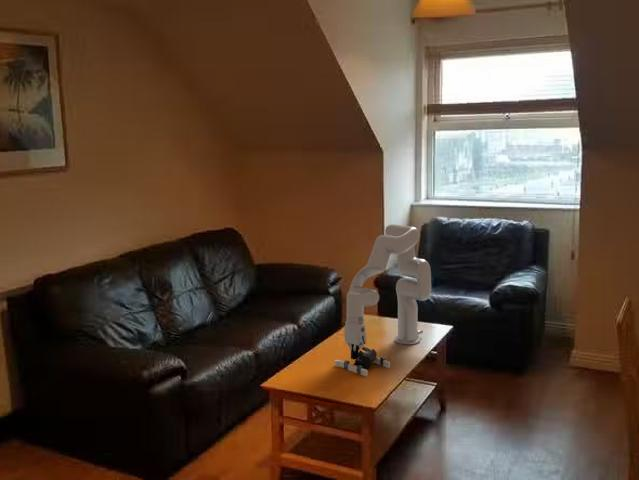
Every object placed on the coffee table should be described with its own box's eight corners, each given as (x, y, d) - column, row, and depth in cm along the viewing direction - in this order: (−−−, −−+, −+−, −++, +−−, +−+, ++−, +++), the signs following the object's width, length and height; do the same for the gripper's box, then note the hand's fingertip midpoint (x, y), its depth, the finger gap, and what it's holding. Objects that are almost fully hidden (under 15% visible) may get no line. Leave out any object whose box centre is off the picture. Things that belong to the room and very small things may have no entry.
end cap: (367, 372, 293) (373, 359, 291) (353, 364, 295) (358, 351, 293) (373, 363, 302) (378, 351, 300) (359, 356, 304) (364, 344, 302)
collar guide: (362, 355, 311) (362, 348, 311) (392, 366, 298) (392, 358, 297) (333, 365, 300) (333, 358, 299) (363, 377, 286) (363, 369, 285)
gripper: (373, 321, 294) (372, 361, 297) (349, 314, 305) (349, 352, 308) (360, 324, 289) (360, 364, 292) (337, 316, 301) (337, 356, 304)
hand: (354, 358), depth 300 cm, fingers closed
